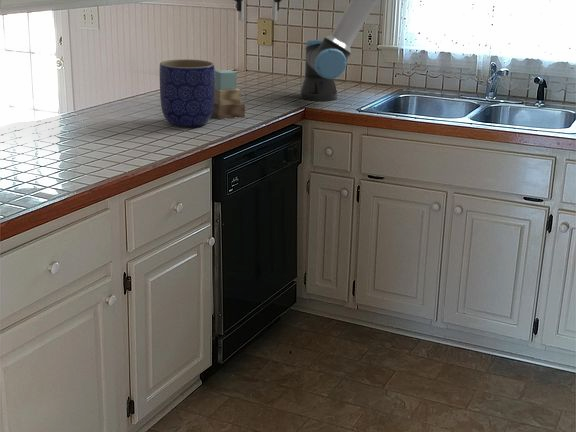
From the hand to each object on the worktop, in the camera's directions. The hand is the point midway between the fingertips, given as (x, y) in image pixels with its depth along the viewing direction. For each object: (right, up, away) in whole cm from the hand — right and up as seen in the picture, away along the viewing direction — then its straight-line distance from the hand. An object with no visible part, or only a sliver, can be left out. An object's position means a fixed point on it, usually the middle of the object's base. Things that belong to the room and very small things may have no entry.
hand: (257, 20), depth 302 cm
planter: (-23, -41, -24) cm, 53 cm away
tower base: (-11, -37, -9) cm, 39 cm away
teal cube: (-11, -27, -12) cm, 32 cm away
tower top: (-11, -32, -11) cm, 36 cm away
